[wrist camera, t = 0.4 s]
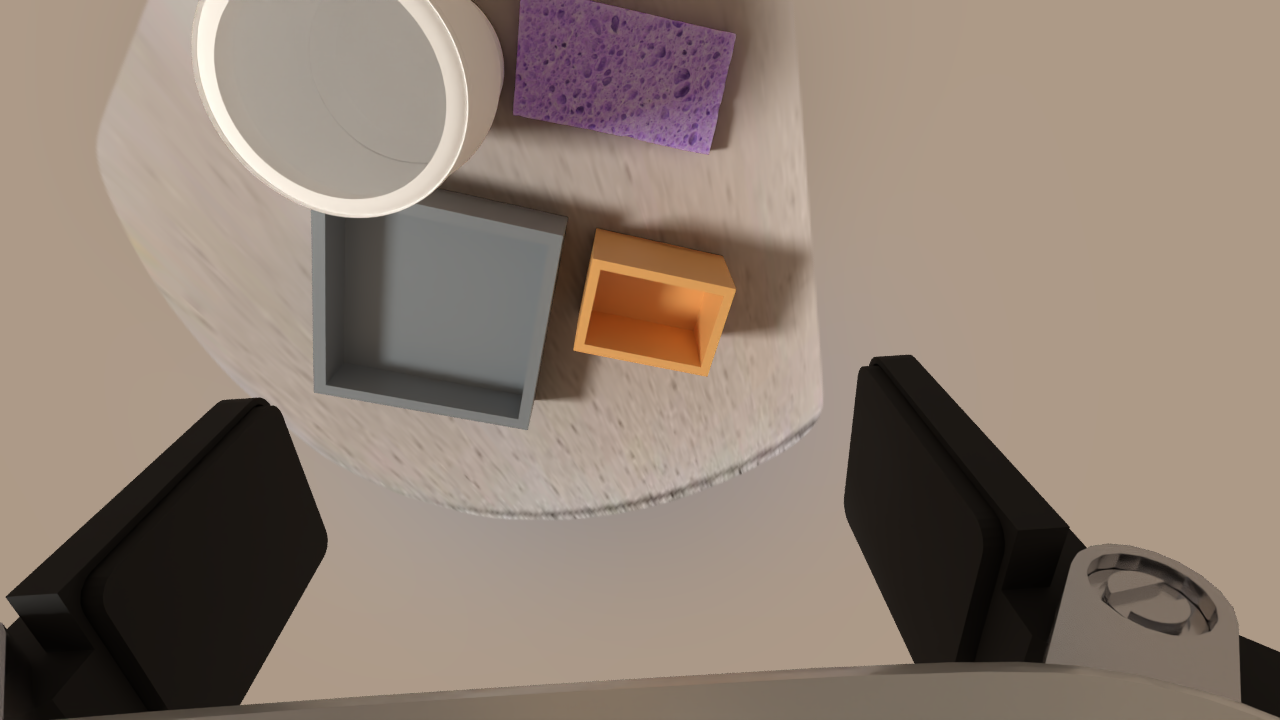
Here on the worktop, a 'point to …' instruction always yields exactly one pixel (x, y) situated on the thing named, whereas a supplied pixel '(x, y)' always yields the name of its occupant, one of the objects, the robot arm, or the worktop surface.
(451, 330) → the grey square tray
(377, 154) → the jar
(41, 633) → the robot arm
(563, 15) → the sponges
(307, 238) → the worktop surface
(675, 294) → the small crate
